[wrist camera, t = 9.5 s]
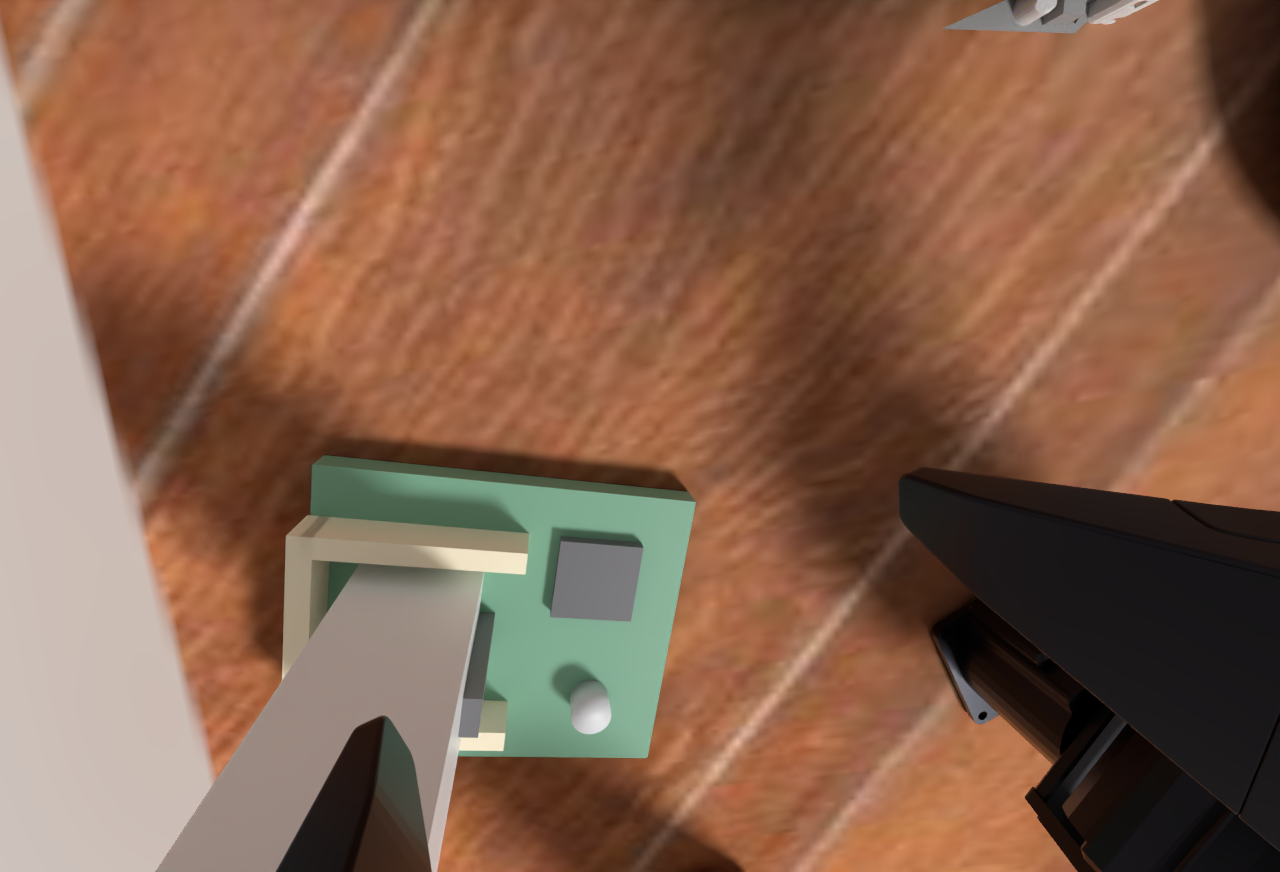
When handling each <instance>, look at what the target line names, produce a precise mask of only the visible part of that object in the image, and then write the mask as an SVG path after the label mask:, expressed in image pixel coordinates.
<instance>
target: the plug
mask: <svg viewBox="0 0 1280 872" xmlns="http://www.w3.org/2000/svg"><path fill="white" fill-rule="evenodd" d="M483 578H484V572H480V571H465V570H451V569H436V568H422V567H407V566H393V565H378V564H364V563H360V564H359V565H358V567H357V568H356V570H355V571H354V573H353V574H352V576H351V577H350V579H349V580H348V582H347V584H346V585H345V587H344V588H343V590H342V591H341V593H340V594H339V596H338V597H337V599H336V600H335V602H334V603H333V605H332V606H331V608H330V609H329V611H328V612H327V614H326V615H325V617H324V618H323V620H322V621H321V623H320V624H319V626H318V627H317V629H316V630H315V632H314V633H313V635H312V636H311V638H310V639H309V641H308V642H307V644H306V645H305V647H304V648H303V650H302V651H301V653H300V654H299V656H298V657H297V659H296V660H295V662H294V663H293V665H292V666H291V668H290V669H289V671H288V673H287V674H286V676H285V677H284V679H283V680H282V682H281V683H280V685H279V686H278V688H277V689H276V691H275V692H274V694H273V695H272V697H271V698H270V700H269V701H268V703H267V704H266V706H265V707H264V709H263V710H262V712H261V713H260V715H259V716H258V718H257V719H256V721H255V722H254V724H253V725H252V727H251V728H250V730H249V731H248V733H247V734H246V736H245V737H244V739H243V740H242V742H241V743H240V745H239V746H238V748H237V749H236V751H235V752H234V754H233V755H232V757H231V758H230V760H229V761H228V763H227V765H226V766H225V768H224V769H223V771H222V772H221V774H220V775H219V777H218V778H217V780H216V781H215V783H214V784H213V786H212V787H211V789H210V790H209V792H208V793H207V795H206V796H205V798H204V799H203V801H202V802H201V804H200V805H199V807H198V808H197V810H196V811H195V813H194V815H193V816H192V817H191V819H190V820H189V822H188V823H187V825H186V826H185V828H184V829H183V831H182V832H181V834H180V835H179V837H178V838H177V840H176V842H175V843H174V845H173V846H172V847H171V849H170V850H169V852H168V853H167V855H166V857H165V858H164V860H163V861H162V863H161V864H160V866H159V867H158V869H157V870H156V872H276V870H277V868H278V866H279V864H280V863H281V861H282V859H283V857H284V855H285V853H286V852H287V850H288V848H289V846H290V844H291V843H292V841H293V839H294V837H295V835H296V833H297V832H298V830H299V828H300V826H301V824H302V823H303V821H304V819H305V817H306V815H307V813H308V812H309V810H310V808H311V806H312V804H313V802H314V801H315V799H316V797H317V795H318V793H319V792H320V790H321V788H322V786H323V784H324V782H325V781H326V779H327V777H328V775H329V773H330V772H331V770H332V768H333V766H334V764H335V762H336V761H337V759H338V757H339V755H340V753H341V752H342V750H343V748H344V746H345V744H346V742H347V741H348V739H349V737H350V735H351V733H352V732H353V730H354V729H355V728H356V727H358V726H359V725H361V724H363V723H365V722H368V721H370V720H372V719H374V718H376V717H378V716H381V715H384V716H387V717H388V718H389V719H390V720H391V721H392V723H393V724H394V726H395V727H396V729H397V731H398V732H399V734H400V735H401V737H402V739H403V740H404V742H405V743H406V745H407V746H408V748H409V750H410V752H411V754H412V757H413V760H414V764H415V769H416V775H417V781H418V788H419V794H420V800H421V806H422V812H423V818H424V825H425V831H426V837H427V843H428V849H429V856H430V863H431V870H432V872H437V869H438V864H439V858H440V853H441V847H442V842H443V836H444V830H445V825H446V819H447V814H448V808H449V803H450V797H451V792H452V786H453V780H454V775H455V769H456V764H457V758H458V753H459V747H460V742H461V737H462V738H478V734H479V727H480V720H481V713H482V706H483V699H484V692H485V685H486V678H487V671H488V664H489V657H490V650H491V643H492V635H493V627H494V619H495V613H486V612H480V603H481V595H482V586H483Z"/></svg>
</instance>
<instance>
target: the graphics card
mask: <svg viewBox="0 0 1280 872" xmlns="http://www.w3.org/2000/svg"><path fill="white" fill-rule="evenodd" d="M1139 1H1143V2H1141V3H1139V4H1137V5H1135V6H1134V5H1133V4H1135V3H1137V2H1139ZM1156 1H1158V0H1005V1H1002V2H1000V3H998V4H996V5H994V6H991V7H989V8H987V9H985V10H982V11H980V12H978V13H976V14H973V15H971V16H969V17H967V18H964V19H962V20H960V21H958V22H956V23H953V24H951V25H949V26H947V27H944V28H942V29H963V30H991V31H1020V32H1049V33H1076V32H1077V31H1078V30H1079V29H1080V28H1081V26H1082V25H1083V24H1084V23H1087V21H1088V22H1089V24H1091V23H1093V24H1099V23H1101V24H1113V23H1114V22H1116V21H1114V20H1113V19H1115V18H1120V17H1126V16H1128V15H1130V14H1132V13H1134V12H1136V11H1138V10H1140V9H1142V8H1144V7H1146V6H1148V5H1150V4H1152V3H1154V2H1156ZM1076 19H1077V20H1076ZM1074 20H1076V22H1075V23H1074V22H1073V21H1074Z"/></svg>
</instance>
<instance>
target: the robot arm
mask: <svg viewBox="0 0 1280 872" xmlns="http://www.w3.org/2000/svg"><path fill="white" fill-rule="evenodd" d="M898 488H899V514H900V518H901V520H902V522H903V523H904V525H905V526H906V527H907V528H908V529H909V530H910V531H911V533H912V534H913V535H914V536H915V537H916V538H917V539H918V540H919V541H920V542H921V543H922V544H923V545H924V546H925V547H926V548H927V549H928V550H929V551H930V552H931V553H932V554H933V555H934V556H935V557H936V558H937V559H938V560H939V561H940V562H941V563H942V564H943V565H944V566H945V567H946V568H947V569H948V570H949V571H950V572H951V573H952V574H953V575H954V576H955V577H956V578H957V579H958V580H959V581H960V582H961V583H962V584H963V585H964V586H965V587H966V588H967V589H969V590H970V591H971V592H972V593H973V594H974V595H975V596H977V597H978V599H977V600H975V601H973V602H972V603H970V604H968V605H967V606H965V607H963V608H962V609H960V610H958V611H957V612H955V613H953V614H952V615H950V616H948V617H947V618H945V619H943V620H942V621H940V622H938V623H937V624H936V625H935V626H934V627H933V629H932V637H933V639H934V641H935V643H936V645H937V648H938V650H939V652H940V654H941V656H942V658H943V661H944V663H945V665H946V667H947V669H948V671H949V674H950V676H951V678H952V680H953V682H954V684H955V687H956V689H957V691H958V693H959V695H960V698H961V700H962V702H963V704H964V706H965V708H966V711H967V713H968V715H969V716H970V718H971V719H972V720H973V721H974V722H975V723H977V724H984V723H986V722H988V721H990V720H991V719H993V718H994V717H996V716H998V715H1000V716H1001V717H1002V718H1003V719H1004V720H1006V721H1007V722H1008V723H1009V724H1010V725H1011V726H1012V727H1013V728H1014V729H1015V730H1016V731H1017V732H1018V733H1019V734H1021V735H1022V736H1023V737H1024V738H1025V739H1026V740H1027V741H1028V742H1029V743H1030V744H1031V745H1032V746H1033V747H1034V748H1036V749H1037V750H1038V751H1039V752H1040V753H1041V754H1042V755H1043V756H1044V757H1045V758H1046V759H1047V760H1048V761H1050V762H1051V763H1052V764H1053V766H1052V767H1051V768H1050V770H1049V771H1048V772H1047V773H1046V775H1045V776H1044V777H1043V779H1042V780H1041V781H1040V782H1039V784H1038V785H1037V786H1036V788H1035V787H1032V788H1031V789H1030V791H1029V792H1028V793H1027V795H1026V796H1025V799H1026V800H1027V801H1028V803H1029V804H1030V805H1031V807H1032V808H1033V809H1034V811H1035V812H1036V813H1037V815H1038V817H1037V818H1038V819H1039V821H1040V822H1041V823H1042V825H1043V826H1044V827H1045V829H1046V830H1047V831H1048V833H1049V834H1050V835H1051V837H1052V838H1053V839H1054V841H1055V842H1056V843H1057V845H1058V846H1059V847H1060V849H1061V850H1062V851H1063V853H1064V854H1065V855H1066V857H1067V858H1068V859H1069V861H1070V862H1071V863H1072V865H1073V866H1074V867H1075V869H1076V870H1077V871H1078V872H1280V512H1277V511H1267V510H1256V509H1247V508H1238V507H1230V506H1221V505H1213V504H1204V503H1197V502H1189V501H1182V500H1173V501H1170V500H1169V499H1165V498H1158V497H1150V496H1142V495H1134V494H1127V493H1119V492H1111V491H1104V490H1096V489H1088V488H1080V487H1073V486H1065V485H1057V484H1049V483H1042V482H1034V481H1026V480H1019V479H1011V478H1003V477H995V476H988V475H980V474H972V473H965V472H957V471H949V470H942V469H934V468H926V467H920V468H916V469H914V470H912V471H910V472H908V473H905V474H903V475H902V476H901V477H900V479H899V483H898ZM944 632H945V633H944ZM943 633H944V634H943ZM942 634H943V635H942ZM276 872H432V870H431V863H430V856H429V849H428V843H427V837H426V831H425V825H424V818H423V812H422V806H421V800H420V794H419V788H418V781H417V775H416V769H415V764H414V760H413V757H412V754H411V752H410V750H409V748H408V746H407V745H406V743H405V742H404V740H403V739H402V737H401V735H400V734H399V732H398V731H397V729H396V727H395V726H394V724H393V723H392V721H391V720H390V719H389V718H388V717H387V716H384V715H381V716H378V717H376V718H374V719H372V720H370V721H368V722H365V723H363V724H361V725H359V726H358V727H356V728H355V729H354V730H353V732H352V733H351V735H350V737H349V739H348V741H347V742H346V744H345V746H344V748H343V750H342V752H341V753H340V755H339V757H338V759H337V761H336V762H335V764H334V766H333V768H332V770H331V772H330V773H329V775H328V777H327V779H326V781H325V782H324V784H323V786H322V788H321V790H320V792H319V793H318V795H317V797H316V799H315V801H314V802H313V804H312V806H311V808H310V810H309V812H308V813H307V815H306V817H305V819H304V821H303V823H302V824H301V826H300V828H299V830H298V832H297V833H296V835H295V837H294V839H293V841H292V843H291V844H290V846H289V848H288V850H287V852H286V853H285V855H284V857H283V859H282V861H281V863H280V864H279V866H278V868H277V870H276Z"/></svg>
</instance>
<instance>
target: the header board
mask: <svg viewBox="0 0 1280 872" xmlns="http://www.w3.org/2000/svg"><path fill="white" fill-rule="evenodd" d="M695 504H696V501H695V500H694V499H693V497H692V496H691V495H690V493H689V492H685V491H675V490H665V489H655V488H645V487H636V486H626V485H616V484H606V483H596V482H586V481H576V480H566V479H557V478H547V477H537V476H527V475H517V474H507V473H497V472H487V471H478V470H468V469H458V468H448V467H438V466H428V465H418V464H408V463H398V462H389V461H379V460H369V459H359V458H349V457H339V456H329V455H324V456H323V457H321V458H320V459H319V460H317V461H316V462H315V463H313V464H312V482H311V510H310V515H307V516H306V517H305V518H304V519H303V520H302V521H301V522H300V523H298V524H297V525H296V526H295V527H294V528H293V529H292V530H291V531H290V532H289V533H288V534H287V535H286V552H285V589H284V626H283V663H282V680H283V679H284V677H285V676H286V674H287V673H288V671H289V669H290V668H291V666H292V665H293V663H294V662H295V660H296V659H297V657H298V656H299V654H300V653H301V651H302V650H303V648H304V647H305V645H306V644H307V642H308V641H309V639H310V638H311V636H312V635H313V633H314V632H315V630H316V629H317V627H318V626H319V624H320V623H321V621H322V620H323V618H324V617H325V615H326V614H327V612H328V611H329V609H330V608H331V606H332V605H333V603H334V602H335V600H336V599H337V597H338V596H339V594H340V593H341V591H342V590H343V588H344V587H345V585H346V584H347V582H348V580H349V579H350V577H351V576H352V574H353V573H354V571H355V570H356V568H357V567H358V565H359V564H360V563H364V564H378V565H393V566H407V567H422V568H436V569H451V570H465V571H480V572H484V578H483V586H482V595H481V603H480V612H486V613H495V619H494V627H493V635H492V643H491V650H490V657H489V664H488V671H487V678H486V685H485V692H484V699H483V706H482V713H481V720H480V727H479V734H478V738H462V737H461V742H460V747H459V753H458V756H483V757H594V758H647V757H648V752H649V746H650V741H651V736H652V730H653V725H654V720H655V715H656V709H657V704H658V699H659V694H660V688H661V683H662V678H663V673H664V667H665V662H666V657H667V651H668V646H669V641H670V636H671V630H672V625H673V620H674V615H675V609H676V604H677V599H678V594H679V588H680V583H681V578H682V572H683V567H684V562H685V557H686V551H687V546H688V541H689V536H690V530H691V525H692V520H693V515H694V509H695Z"/></svg>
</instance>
